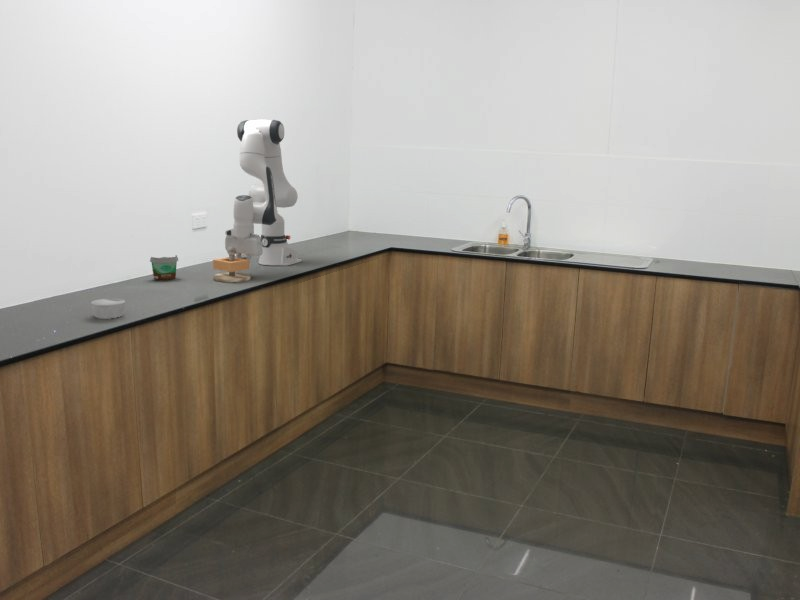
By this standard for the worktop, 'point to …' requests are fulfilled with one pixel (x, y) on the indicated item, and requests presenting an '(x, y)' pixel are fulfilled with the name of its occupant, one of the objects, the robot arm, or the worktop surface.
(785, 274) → the worktop surface
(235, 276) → the round peg stand
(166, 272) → the food container
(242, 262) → the orange square frame
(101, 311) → the ramekin
